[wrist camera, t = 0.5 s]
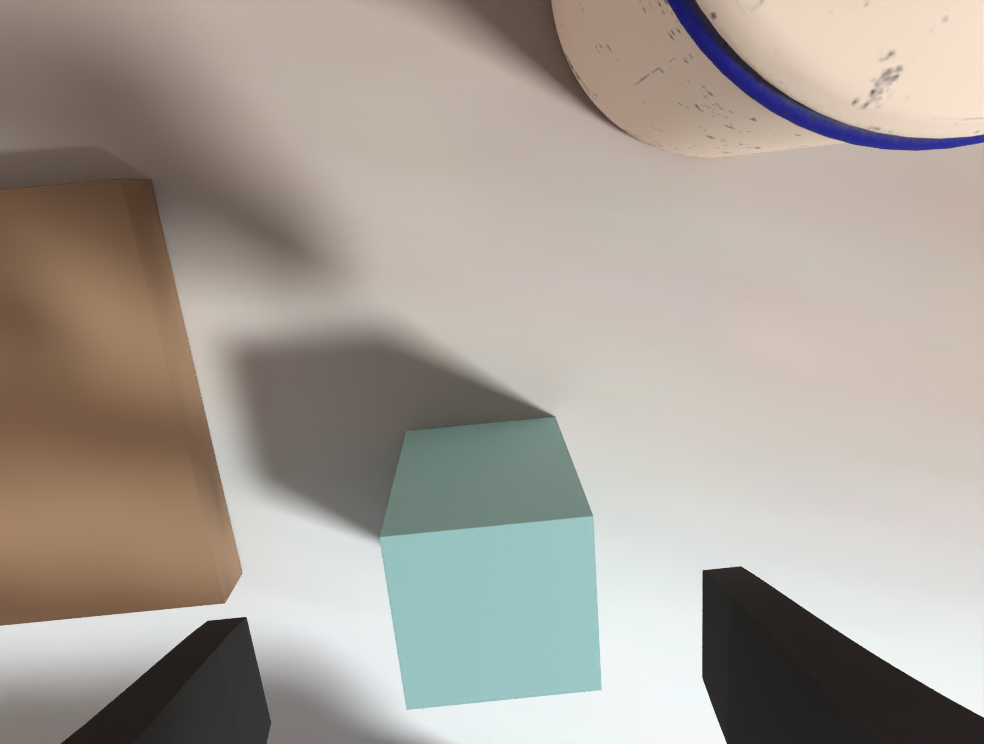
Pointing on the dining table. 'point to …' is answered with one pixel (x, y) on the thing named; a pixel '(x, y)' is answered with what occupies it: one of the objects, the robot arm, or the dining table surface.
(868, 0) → the teacup with lid
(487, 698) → the teal block
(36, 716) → the dining table surface
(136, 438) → the walnut slab
